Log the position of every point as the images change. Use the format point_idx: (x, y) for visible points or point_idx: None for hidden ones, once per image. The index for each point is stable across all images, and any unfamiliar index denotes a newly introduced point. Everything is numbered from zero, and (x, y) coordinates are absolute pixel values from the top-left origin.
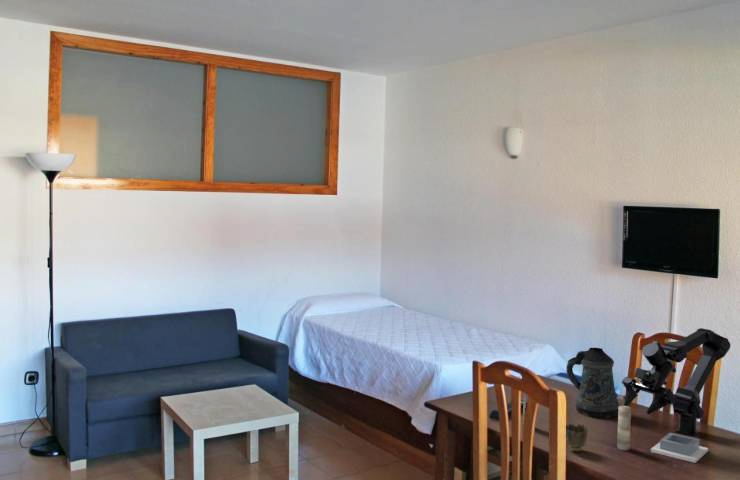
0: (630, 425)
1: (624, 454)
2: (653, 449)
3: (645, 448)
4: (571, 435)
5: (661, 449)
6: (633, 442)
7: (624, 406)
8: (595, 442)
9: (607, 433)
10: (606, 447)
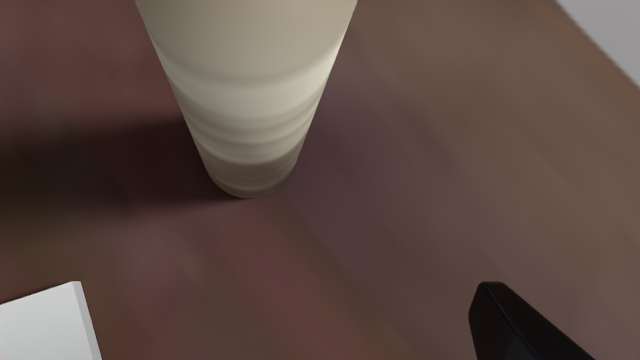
0: (185, 118)
1: None
2: (48, 290)
3: (155, 309)
4: None
5: (6, 357)
6: (298, 334)
7: (300, 15)
8: (432, 74)
9: None
10: None
